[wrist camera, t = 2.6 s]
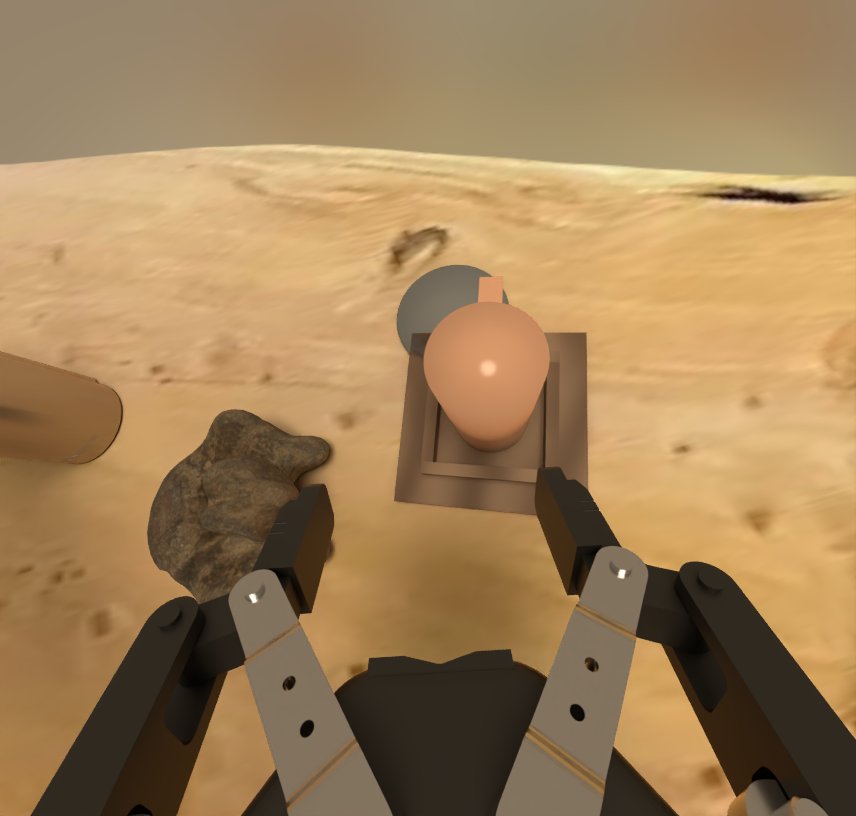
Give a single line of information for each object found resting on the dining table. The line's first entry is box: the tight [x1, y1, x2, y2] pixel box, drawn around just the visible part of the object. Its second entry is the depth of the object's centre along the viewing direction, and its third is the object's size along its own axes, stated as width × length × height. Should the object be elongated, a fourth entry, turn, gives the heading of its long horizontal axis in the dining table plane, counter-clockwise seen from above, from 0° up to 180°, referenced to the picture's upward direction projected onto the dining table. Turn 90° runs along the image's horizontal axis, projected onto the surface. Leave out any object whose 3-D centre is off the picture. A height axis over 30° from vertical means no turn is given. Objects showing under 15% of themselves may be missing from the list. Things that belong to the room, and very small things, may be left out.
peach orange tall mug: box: [424, 276, 550, 453], centre depth 25 cm, size 9×6×14 cm
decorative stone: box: [147, 409, 331, 604], centre depth 31 cm, size 16×11×15 cm
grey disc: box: [397, 265, 509, 359], centre depth 35 cm, size 11×11×1 cm
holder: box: [394, 333, 588, 515], centre depth 31 cm, size 16×16×2 cm
